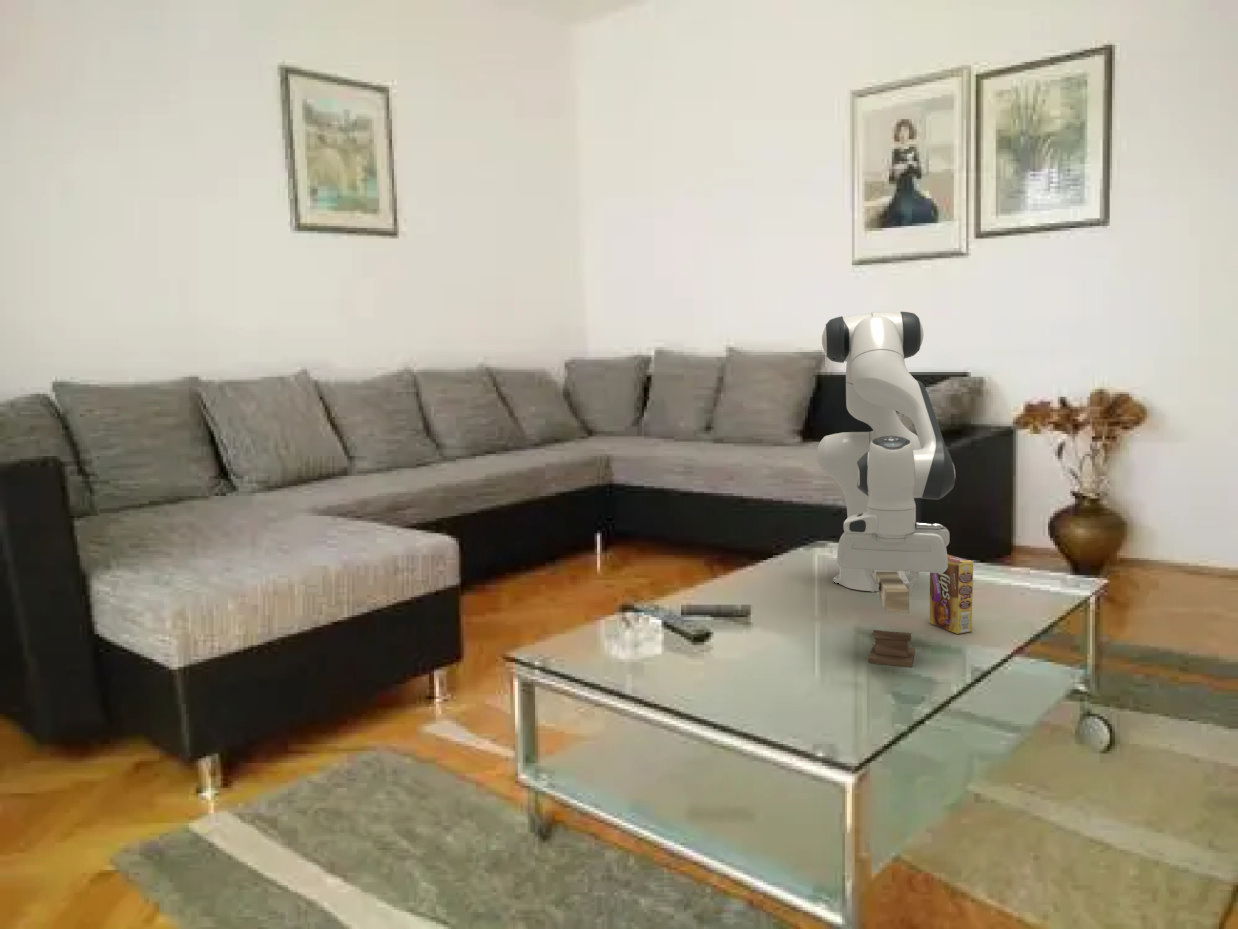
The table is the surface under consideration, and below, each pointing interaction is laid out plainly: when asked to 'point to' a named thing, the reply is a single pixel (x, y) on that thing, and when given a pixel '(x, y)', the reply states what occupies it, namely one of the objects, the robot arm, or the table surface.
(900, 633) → the ridge stand
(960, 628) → the candy box
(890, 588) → the wooden zigzag block
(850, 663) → the table surface
